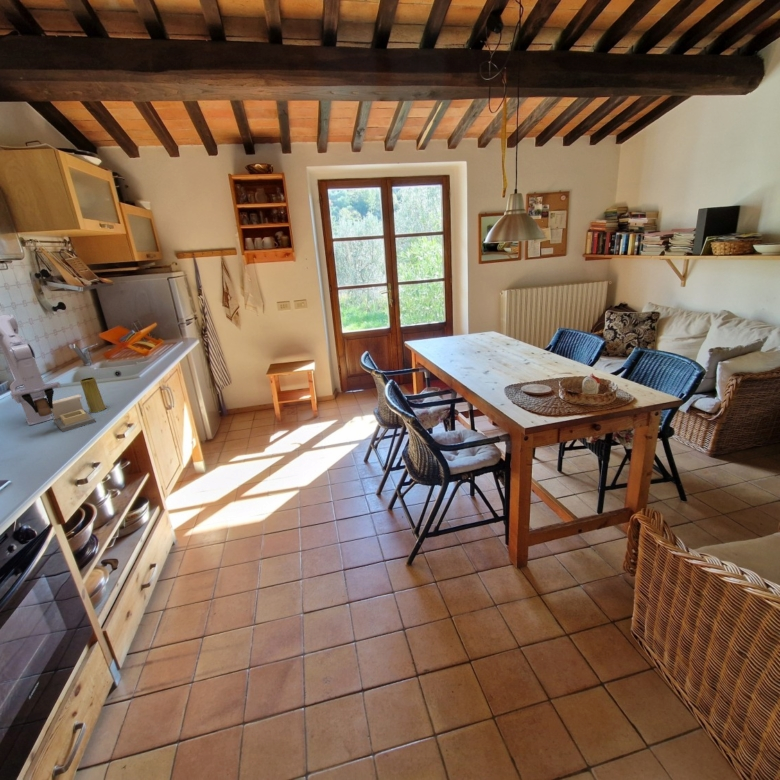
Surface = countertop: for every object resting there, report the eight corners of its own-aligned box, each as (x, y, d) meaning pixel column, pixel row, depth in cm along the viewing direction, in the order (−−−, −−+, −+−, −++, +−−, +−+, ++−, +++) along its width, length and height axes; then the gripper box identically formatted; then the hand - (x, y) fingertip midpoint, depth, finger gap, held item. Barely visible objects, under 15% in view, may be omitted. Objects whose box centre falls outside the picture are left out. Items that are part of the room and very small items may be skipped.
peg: (38, 414, 158) (32, 400, 156) (51, 411, 161) (45, 397, 158) (40, 417, 155) (34, 402, 153) (53, 413, 158) (47, 399, 156)
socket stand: (54, 422, 169) (46, 402, 166) (86, 413, 176) (79, 394, 173) (62, 432, 158) (54, 411, 155) (95, 421, 166) (88, 401, 163)
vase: (103, 406, 183) (93, 375, 179) (108, 408, 180) (97, 378, 175) (87, 410, 179) (76, 380, 174) (92, 413, 175) (81, 382, 170)
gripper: (6, 384, 145) (21, 419, 150) (56, 372, 155) (69, 406, 159) (4, 380, 150) (19, 414, 154) (53, 370, 159) (65, 402, 164)
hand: (44, 410), depth 157 cm, fingers closed on peg, 4 cm apart
